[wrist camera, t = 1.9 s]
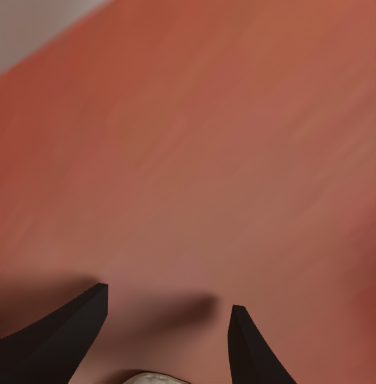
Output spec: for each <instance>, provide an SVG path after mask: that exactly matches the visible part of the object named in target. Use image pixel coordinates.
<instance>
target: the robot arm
mask: <svg viewBox="0 0 376 384" xmlns="http://www.w3.org/2000/svg"><path fill="white" fill-rule="evenodd" d="M107 314H108V284H102V283H97V284H96V285H94V286H93V287H91V288H90V289H88V290H87V291H85V292H84V293H82V294H81V295H79V296H78V297H76V298H75V299H73V300H72V301H70V302H69V303H67V304H66V305H64V306H62V307H61V308H59V309H57V310H56V311H54V312H52V313H51V314H49V315H48V316H46V317H44V318H42V319H41V320H39V321H37V322H35V323H33V324H32V325H30V326H28V327H26V328H24V329H22V330H20V331H18V332H16V333H14V334H12V335H9V336H7V337H5V338H3V339H1V340H0V384H68V382H69V381H70V379H71V377H72V376H73V374H74V372H75V371H76V369H77V368H78V366H79V364H80V363H81V361H82V359H83V358H84V356H85V355H86V353H87V351H88V350H89V348H90V346H91V345H92V343H93V342H94V340H95V338H96V337H97V335H98V333H99V331H100V329H101V327H102V325H103V323H104V321H105V319H106V317H107ZM228 354H229V363H230V369H231V376H232V383H233V384H297V383H296V382H295V381H294V380H293V378H292V377H291V376H290V375H289V373H288V372H287V371H286V369H285V368H284V367H283V366H282V364H281V363H280V362H279V360H278V359H277V357H276V356H275V355H274V353H273V352H272V350H271V349H270V347H269V346H268V344H267V343H266V341H265V340H264V338H263V337H262V335H261V334H260V332H259V330H258V329H257V327H256V325H255V324H254V322H253V320H252V319H251V317H250V315H249V313H248V312H247V310H246V308H245V307H244V306H239V305H233V307H232V313H231V318H230V324H229V329H228Z"/></svg>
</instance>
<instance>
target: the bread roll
mask: <svg viewBox="0 0 376 384" xmlns="http://www.w3.org/2000/svg"><path fill="white" fill-rule="evenodd" d="M123 384H189V383H187V382H184V381H181V380H178V379H175V378H173V377H170V376H167V375H162V374H158V373H141V374H138V375H135V376H133V377H132V378H130V379H129V380H127V381H125V382H124V383H123Z"/></svg>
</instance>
